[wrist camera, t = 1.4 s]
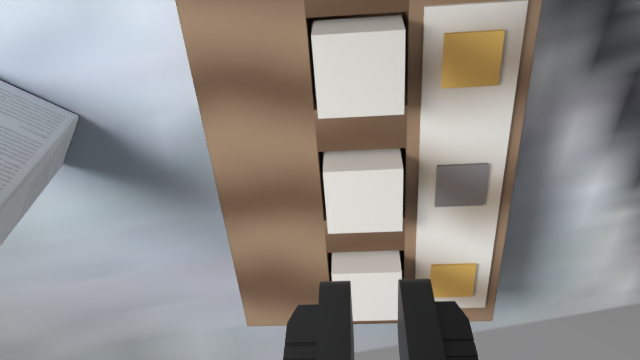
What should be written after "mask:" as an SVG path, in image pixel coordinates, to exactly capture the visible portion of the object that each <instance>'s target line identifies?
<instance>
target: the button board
mask: <svg viewBox="0 0 640 360" xmlns="http://www.w3.org/2000/svg"><path fill="white" fill-rule="evenodd" d="M175 2H176V6H177V11H178V15H179V20H180V24H181V29H182V33H183V38H184V42H185V47H186V51H187V56H188V60H189V65H190V69H191V74H192V78H193V83H194V87H195V92H196V96H197V101H198V105H199V110H200V114H201V119H202V123H203V128H204V132H205V137H206V141H207V146H208V150H209V155H210V159H211V164H212V168H213V173H214V177H215V182H216V186H217V191H218V195H219V200H220V204H221V209H222V213H223V218H224V222H225V227H226V231H227V236H228V240H229V245H230V249H231V254H232V258H233V263H234V267H235V272H236V276H237V281H238V285H239V290H240V294H241V299H242V303H243V308H244V312H245V317H246V321H247V326H287V322H288V321H289V319H290V317H291V316H292V314H293V312H294V311H295V309H296V307H297V306H298V305H312V304H318V303H319V285H320V282H321V281H332V275H331V272H332V253H335V252H366V251H398V250H399V254H400V262H401V270H402V279H430V280H431V284H432V289H433V294H434V300H435V301H455V302H456V303H457V304H458V306H459V307H460V308H461V310H462V311H463V312H464V313H465V315H466V316H467V317H468V319H469V321H492V320H493V313H494V307H495V300H496V294H497V287H498V281H499V275H500V268H501V262H502V255H503V249H504V242H505V236H506V230H507V223H508V217H509V210H510V204H511V197H512V191H513V185H514V178H515V172H516V165H517V159H518V152H519V146H520V139H521V133H522V127H523V120H524V114H525V107H526V101H527V94H528V88H529V82H530V75H531V69H532V62H533V56H534V49H535V43H536V37H537V30H538V24H539V17H540V11H541V4H542V0H175ZM395 15H401V16H402V19H403V23H404V26H405V95H404V115H385V116H365V117H345V118H324V119H318V111H317V99H316V87H315V76H314V64H313V52H312V40H311V33H312V26H313V21H315V20H331V19H347V18H363V17H379V16H395ZM391 148H400V152H401V158H402V164H403V225H402V231H396V232H367V233H338V234H328V228H327V216H326V205H325V193H324V181H323V159H324V151H346V150H369V149H391ZM378 323H398V320H382V321H353V324H378Z"/></svg>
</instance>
